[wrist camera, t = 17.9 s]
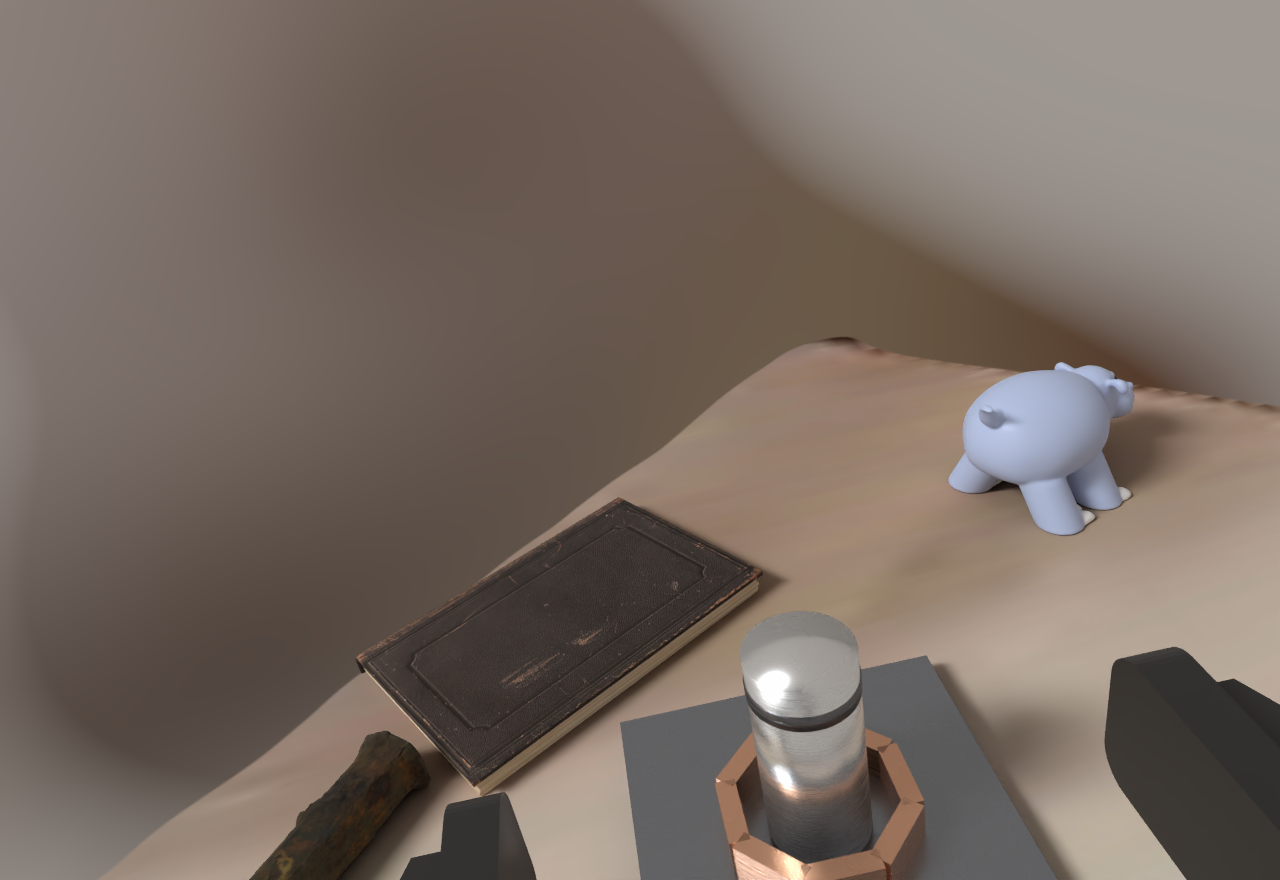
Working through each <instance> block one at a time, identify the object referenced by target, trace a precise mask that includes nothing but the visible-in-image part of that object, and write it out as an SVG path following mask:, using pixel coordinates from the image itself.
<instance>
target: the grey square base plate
mask: <svg viewBox="0 0 1280 880" xmlns="http://www.w3.org/2000/svg"><path fill="white" fill-rule="evenodd" d="M861 674H862V701H863V713H864V725H865V736H866V748H867V760H868V772H869V784H870V796H871V808H872V820H873V827H872V833H871V836H870V839H869V841H868V843H867V844H866V846H865V847H864V849H863V850H862V851H861V852H860V853H855V854H851V855H846V856H842V857H837V858H833V859H829V860H824V861H820V862H815V863H811V864H805V863H803V862H801V861H799V860H797V859H795V858H793V857H791V856H789V855H787V854H786V853H784V852H782V851H781V850H780V849H779V848H778V847H777V845H776V844H775V843H774V841H773V839H772V837H771V834H770V832H769V827H768V821H767V815H766V809H765V803H764V797H763V791H762V785H761V779H760V773H759V767H758V761H757V755H756V749H755V743H754V737H753V731H752V725H751V719H750V713H749V707H748V703H747V700H746V696H745V695H744V696H739V697H735V698H730V699H725V700H721V701H716V702H712V703H707V704H703V705H698V706H694V707H689V708H684V709H680V710H675V711H671V712H666V713H662V714H657V715H652V716H648V717H643V718H639V719H634V720H630V721H625V722H621V723H620V725H621V732H622V740H623V748H624V755H625V763H626V770H627V778H628V785H629V793H630V800H631V808H632V815H633V823H634V831H635V838H636V846H637V853H638V861H639V868H640V876H641V880H1057V878H1056V876H1055V875H1054V873H1053V871H1052V870H1051V868H1050V866H1049V864H1048V863H1047V861H1046V859H1045V858H1044V856H1043V854H1042V852H1041V851H1040V849H1039V847H1038V846H1037V844H1036V842H1035V840H1034V839H1033V837H1032V835H1031V834H1030V832H1029V830H1028V828H1027V827H1026V825H1025V823H1024V822H1023V820H1022V818H1021V817H1020V815H1019V813H1018V811H1017V810H1016V808H1015V806H1014V805H1013V803H1012V801H1011V799H1010V798H1009V796H1008V794H1007V793H1006V791H1005V789H1004V787H1003V786H1002V784H1001V782H1000V781H999V779H998V777H997V775H996V774H995V772H994V770H993V769H992V767H991V765H990V763H989V762H988V760H987V758H986V757H985V755H984V753H983V752H982V750H981V748H980V746H979V745H978V743H977V741H976V740H975V738H974V736H973V734H972V733H971V731H970V729H969V728H968V726H967V724H966V722H965V721H964V719H963V717H962V716H961V714H960V712H959V710H958V709H957V707H956V705H955V704H954V702H953V700H952V698H951V697H950V695H949V693H948V692H947V690H946V688H945V687H944V685H943V683H942V681H941V680H940V678H939V676H938V675H937V673H936V671H935V669H934V668H933V666H932V664H931V663H930V661H929V659H928V657H927V656H922V657H917V658H913V659H908V660H903V661H899V662H894V663H890V664H885V665H881V666H876V667H871V668H867V669H862V670H861Z"/></svg>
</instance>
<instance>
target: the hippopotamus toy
mask: <svg viewBox="0 0 1280 880" xmlns="http://www.w3.org/2000/svg"><path fill="white" fill-rule="evenodd" d="M1132 389H1133V384H1132V383H1131V382H1125V381H1123V380H1119V379H1117V377H1116V376H1115V375H1114V373H1113V372H1111V371H1108V370H1106V369H1104V368H1101V367H1098V366H1083V367H1080V368H1077V369H1074V368H1072V367H1070V366H1069V365H1067V364H1065V363H1061V362H1060V363H1058V364H1057V365H1056V366H1055V370H1042V371H1031V372H1025V373H1021V374H1017V375H1014V376H1011V377H1009V378H1006V379H1004V380H1002V381H1000V382H998V383H996V384H995V385H993V386H992V387H990V388H989V389H987V390H986V391H985V392H984V393H983V394H982V395H980V396H979V397H978V398H977V399H976V401H975V402H974V403H973V404H972V406H971V407H970V408H969V410H968V412H967V414H966V416H965V419H964V424H963V443H964V449H965V453H964V455H963V456H962V458H961V459H960V461H959V463H958V464H957V466H956V467H955V469H954V470H953V472H952V473H951V475H950V477H949V484H950V485H951V486H952V487H953V488H955V489H956V490H959V491H962V492H965V493H982V492H986V491H988V490H990V489H991V488H992V487H993V486H995V485H997V484H999V483H1000V482H1002V481H1006V482H1010V483H1014V484H1017V485H1018V486H1019V487H1020V489H1021V492H1022V494H1023V496H1024V499H1025V501H1026V503H1027V506H1028V508H1029V511H1030V513H1031V515H1032V518H1033V520H1034V522H1035V523H1036V525H1037V526H1039V527H1040V528H1041V529H1043V530H1045V531H1047V532H1049V533H1053V534H1057V535H1072V534H1076V533H1078V532H1079V531H1081V530H1082V529H1083V528H1084V526H1085V525H1087V524H1088V523H1090V522H1091V521H1092V520H1094V519H1095V515H1094V514H1093V513H1091V512H1090V511H1083V510H1082V508H1081V507H1080V506H1079V505H1077V503H1076V502H1078V503H1079V504H1081V505H1083V506H1085V507H1088V508H1092V509H1097V510H1110V509H1114V508H1116V507H1118V506H1120V504H1121V503H1122V501H1124V500H1127V499H1128V498H1129V497H1130V496H1131V492H1130V491H1129V490H1127V489H1126V488H1124V487H1117V485H1116V483H1115V480H1114V478H1113V476H1112V473H1111V471H1110V468H1109V466H1108V464H1107V461H1106V459H1105V457H1104V454H1103V452H1102V449H1103V447H1104V446H1105V443H1106V441H1107V439H1108V435H1109V430H1110V420H1111V419H1112V418H1117V417H1121V416H1124V415H1127V414H1129V413H1130V412H1131V411H1132V408H1133V401H1134V393H1133V391H1132Z"/></svg>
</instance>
